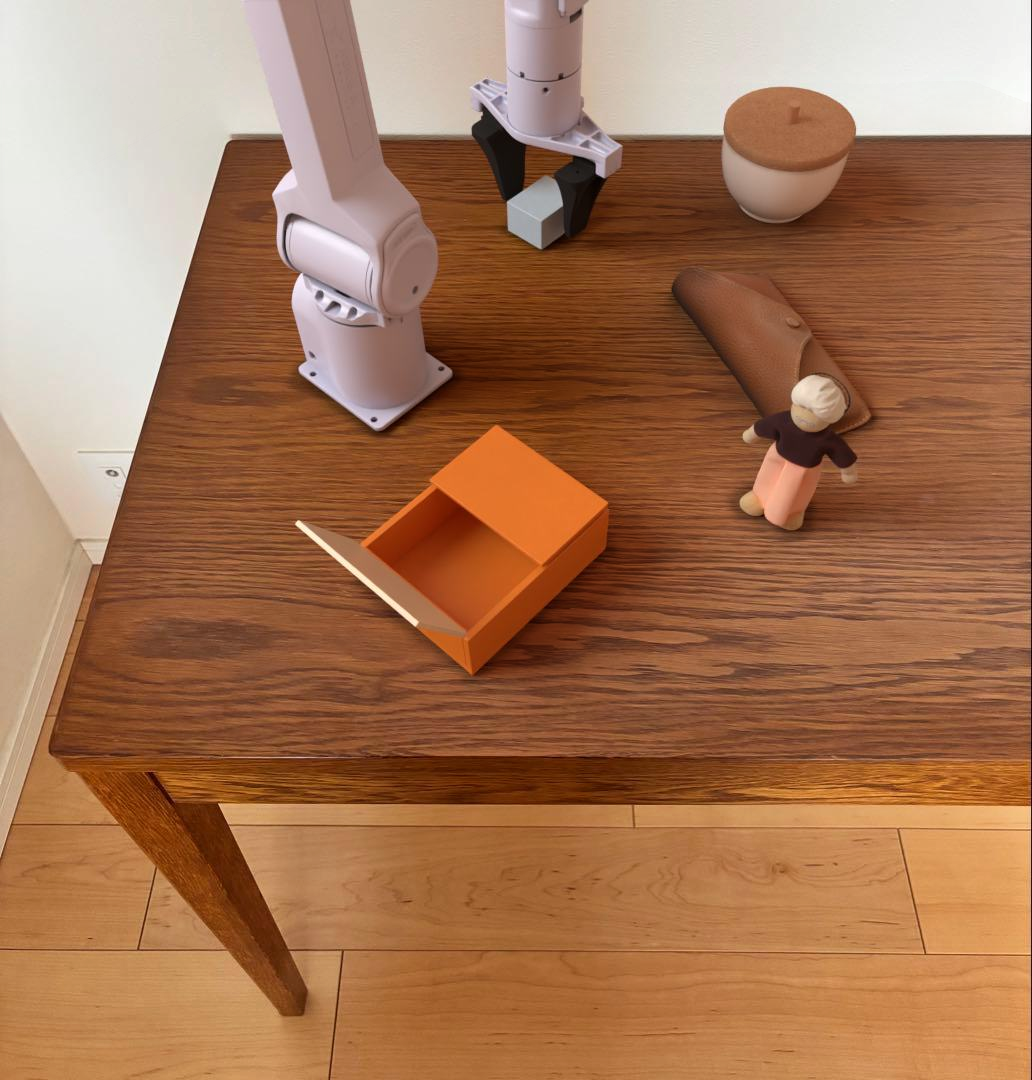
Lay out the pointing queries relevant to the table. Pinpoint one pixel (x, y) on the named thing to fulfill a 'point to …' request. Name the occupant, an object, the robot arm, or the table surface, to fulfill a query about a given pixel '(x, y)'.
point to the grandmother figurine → (798, 453)
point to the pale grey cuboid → (537, 213)
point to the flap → (382, 581)
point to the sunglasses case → (762, 340)
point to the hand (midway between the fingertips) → (543, 213)
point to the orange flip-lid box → (492, 542)
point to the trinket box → (784, 151)
